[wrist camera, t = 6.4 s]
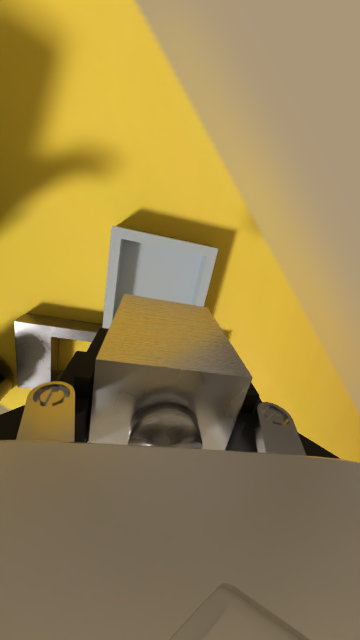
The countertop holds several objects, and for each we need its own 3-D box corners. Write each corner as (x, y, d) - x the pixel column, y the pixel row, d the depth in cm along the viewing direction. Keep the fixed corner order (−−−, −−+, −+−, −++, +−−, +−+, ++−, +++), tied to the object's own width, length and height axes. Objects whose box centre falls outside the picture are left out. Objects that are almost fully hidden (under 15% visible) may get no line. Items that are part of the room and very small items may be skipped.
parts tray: (116, 225, 25) (111, 225, 23) (212, 246, 27) (218, 248, 24) (107, 317, 29) (102, 327, 26) (191, 330, 31) (194, 340, 28)
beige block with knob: (124, 293, 13) (88, 375, 6) (207, 307, 14) (262, 394, 7) (115, 367, 15) (79, 497, 8) (189, 375, 16) (219, 500, 9)
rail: (28, 375, 31) (17, 387, 29) (25, 313, 28) (14, 321, 26) (199, 392, 35) (202, 404, 33) (214, 340, 32) (218, 349, 30)
